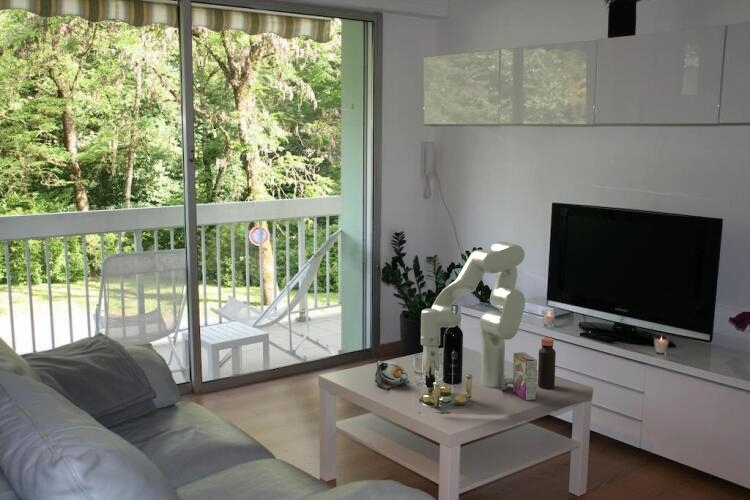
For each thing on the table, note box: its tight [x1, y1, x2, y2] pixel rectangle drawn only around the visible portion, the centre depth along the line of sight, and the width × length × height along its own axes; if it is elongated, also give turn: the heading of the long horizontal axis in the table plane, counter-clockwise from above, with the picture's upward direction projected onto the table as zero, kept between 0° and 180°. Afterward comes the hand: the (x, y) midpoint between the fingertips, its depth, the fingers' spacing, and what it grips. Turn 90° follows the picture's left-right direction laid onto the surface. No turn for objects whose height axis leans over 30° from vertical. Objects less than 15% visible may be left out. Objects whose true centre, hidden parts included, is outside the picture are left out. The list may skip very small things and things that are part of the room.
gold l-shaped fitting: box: [422, 381, 441, 406], centre depth 294 cm, size 9×4×10 cm, turn 24°
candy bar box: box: [512, 351, 538, 401], centre depth 308 cm, size 11×5×16 cm, turn 17°
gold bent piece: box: [455, 373, 473, 405], centre depth 297 cm, size 9×4×10 cm, turn 144°
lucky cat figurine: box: [374, 360, 409, 390], centre depth 321 cm, size 15×12×14 cm
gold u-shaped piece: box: [427, 371, 452, 396], centre depth 306 cm, size 9×4×10 cm, turn 91°
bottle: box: [537, 337, 557, 390], centre depth 320 cm, size 7×7×20 cm
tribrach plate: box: [418, 391, 472, 415], centre depth 300 cm, size 20×20×3 cm
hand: (430, 385), depth 306 cm, fingers closed
